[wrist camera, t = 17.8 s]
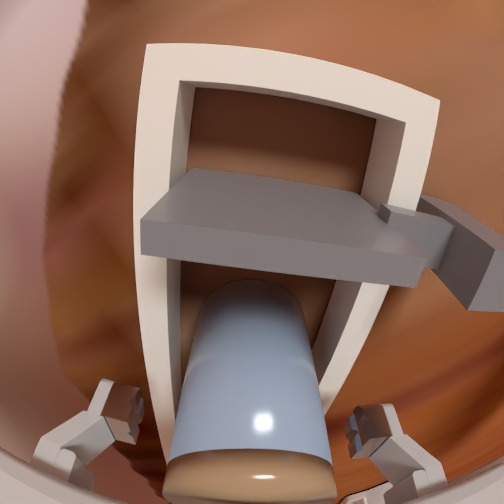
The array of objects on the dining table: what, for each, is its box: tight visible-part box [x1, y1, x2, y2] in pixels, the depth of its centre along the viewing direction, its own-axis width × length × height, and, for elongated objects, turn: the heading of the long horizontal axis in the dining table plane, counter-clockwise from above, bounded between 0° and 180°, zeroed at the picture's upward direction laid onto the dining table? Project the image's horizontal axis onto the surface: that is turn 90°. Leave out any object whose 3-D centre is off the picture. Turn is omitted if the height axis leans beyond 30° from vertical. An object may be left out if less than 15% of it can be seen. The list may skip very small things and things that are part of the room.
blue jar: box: [162, 280, 337, 504], centre depth 10 cm, size 5×5×9 cm
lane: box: [133, 43, 440, 464], centre depth 14 cm, size 29×9×4 cm, turn 172°
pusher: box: [140, 168, 504, 312], centre depth 9 cm, size 2×11×6 cm, turn 82°
